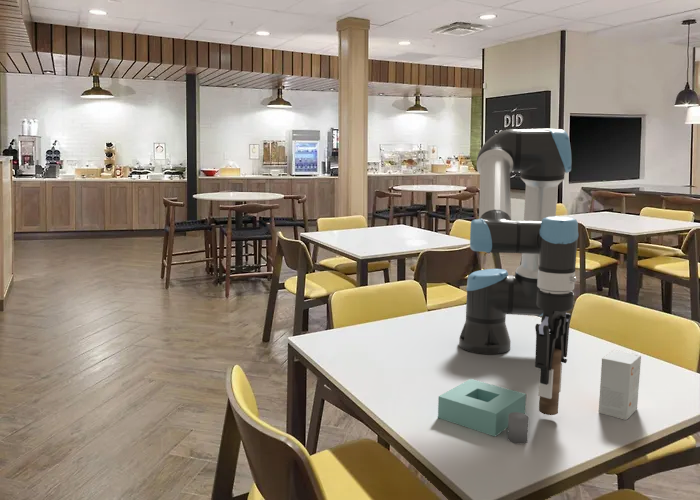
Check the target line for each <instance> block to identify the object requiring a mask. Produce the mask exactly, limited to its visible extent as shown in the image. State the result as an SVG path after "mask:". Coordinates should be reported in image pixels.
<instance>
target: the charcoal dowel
mask: <svg viewBox="0 0 700 500" xmlns="http://www.w3.org/2000/svg"><path fill="white" fill-rule="evenodd" d="M529 420H530V419H529V416H528V414H526V413H525V414H524V413H519V412H513V413H510V414H509V415H508V428H507V440H508V441H509V442H510V443H512V444H517V445H521V444H526V443H528V441H529V440H528V438H529V437H528V435H529Z"/></svg>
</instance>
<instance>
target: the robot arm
mask: <svg viewBox="0 0 700 500" xmlns="http://www.w3.org/2000/svg"><path fill="white" fill-rule="evenodd" d="M572 163H573V162H572V149H571V142H570V137H569V134H568V132H567V131H566V130H564V129H561V128H559V129H557V128H521V129H520V128H519V129H518V128H517V129H516V128H509V129H505V130H501V131H499V132H497V133H495V134H494V135H493V136H490V138H489V139H487V140H486V141H485V143H484V144H483V145H482V147H481V148H480V149H479V151H478V153H477V157H476V169H477V172H478V174H479V203H478V204H479V209H478V218H477V219H472V220H471V221H470V234H469V238H470V239H469V248H470V250H471V251H473V252H482V253H485V254H486V253H488V254H489V253H496V254H497V253H499V254H501V253H503V254H521V259H520V260H521V263H520V265H519V266H517V267H516V269H515V273H514V274H513V275H512V274H509V273H508V270H506V269H504V268H487V269H480V270H476V271H473V272H471V273H470V274H469V275H468V277H467V282H466V288H465V290H466V304H465V305H466V307H465V308H466V309H465V322H464V323H463V324H464V325H463V327H462V330H461V332H460V335H459V341H458V344H459V345H458V346H459V347H460V348H461V349H462V350H464V351H468V352H470V353H475V354H482V355H496V354H497V355H498V354H503V353H507V352H508V351H510V349H511V343H512V342H511V338H510V334H509V331H508V327H507V324H506V315H513V316H515V315H516V316H529V317H530V316H532V317H537V318H538V317H539V318H540V317H541V320H540V321H541V323H540V324H539V323H536V324H535V327H534V328H535V336H536V337H535V362H534V367H535V368H538V369H539V379H538V380H539V382H538V397H540V396H541V397H545V398H548V399H551V398H552V387H553V370H554V369H552V361H553V354H554V348H557V349H560V350H561V351H562V353H561V370H560V386H559V393H561V391H562V390H561V388H562V372H563V364H566V363H567V361H568V359H567V357H568V346H569V345H568V344H569V334H570V333H569V332H570V324H571V323H570V322H571V318H572V314H571V313H568V311H571V310H573V308H574V300H575V293H574V290H575V283H576V282H577V280H578V278H577V277H576V263H577V251H578V250H577V249H578V241H579V240H578V239H579V223H578V220H577V219H575V218H574V217H569V216H557V202H558V189H559V185H560V184H561V183H562V182H563V181H564V180H565V174H568V173H570V172H571V171H572ZM512 172H513V173H520V179H521V180H522V181H523V183H525V194H524V210H523V211H524V212H523V213H524V214H523V220H518V219H517V220H515V219H513V220H512V208H511V206H512V203H511V198H512V197H511V179H510V178H511V173H512Z"/></svg>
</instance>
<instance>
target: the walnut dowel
mask: <svg viewBox="0 0 700 500" xmlns="http://www.w3.org/2000/svg"><path fill="white" fill-rule="evenodd" d="M561 353H562V351H561V350H560V349H557V348H554V354H553V361H552V369H554V370H553V387H552V398H551V399H548V398H545V397H541V396H539V399H538V400H539V401H538V402H539V404H538V405H539V406H538V412H539V413H541V414H544V415H545V416H546V415H547V416H555V415H558V414H559V401H560V392H559V386H560V370H561V363H562V362H561Z"/></svg>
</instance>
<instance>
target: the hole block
mask: <svg viewBox="0 0 700 500" xmlns="http://www.w3.org/2000/svg"><path fill="white" fill-rule="evenodd" d="M437 401H438V405H437V406H438V407H437V418H438V419H440V420H444V421H446V422H450V423H453V424H456V425H459V426H462V427H465V428H467V429H468V428H469V429H471V430H474V431H477V432H480V433H483V434H487V435H489V436H492V437H496V436H498V435H499V434H501V433H502V432H504V431H505V430H507V429H508V415H509V414H510V413H513V412H519V413H524V414H526V405H527V404H526V402H527V394H526V393H525V392H520V391H516V390H514V389H510V388H506V387H502V386H498V385H495V384H491V383H488V382H484V381H480V380H476V379H473V378H469V379H467V380H466V381H464V382H463V383H460V384H458V385H456V386H455V387H453V388H451V389H449V390H448V391H446V392H444V393H442V394H440V395H438V400H437Z"/></svg>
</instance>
